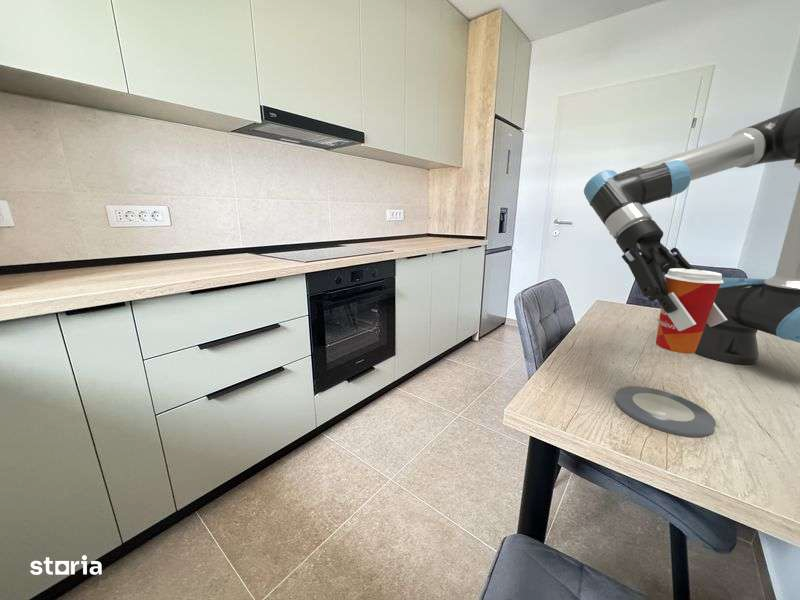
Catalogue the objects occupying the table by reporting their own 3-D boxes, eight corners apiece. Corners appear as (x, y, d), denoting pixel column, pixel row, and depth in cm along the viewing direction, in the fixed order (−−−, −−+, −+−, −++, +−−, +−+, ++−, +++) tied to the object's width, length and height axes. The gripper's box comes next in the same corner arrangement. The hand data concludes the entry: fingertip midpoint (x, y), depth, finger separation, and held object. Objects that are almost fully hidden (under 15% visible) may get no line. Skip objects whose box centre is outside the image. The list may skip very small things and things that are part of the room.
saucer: (647, 386, 76) (648, 381, 76) (733, 427, 61) (735, 421, 61) (597, 397, 71) (598, 392, 70) (678, 445, 56) (680, 439, 56)
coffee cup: (649, 336, 68) (666, 266, 64) (701, 346, 63) (723, 271, 59) (647, 348, 62) (665, 271, 58) (705, 360, 57) (729, 277, 53)
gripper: (651, 241, 75) (717, 329, 65) (583, 242, 68) (645, 339, 58) (682, 218, 69) (761, 311, 58) (612, 216, 62) (686, 320, 52)
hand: (703, 325), depth 58 cm, fingers closed on coffee cup, 8 cm apart
